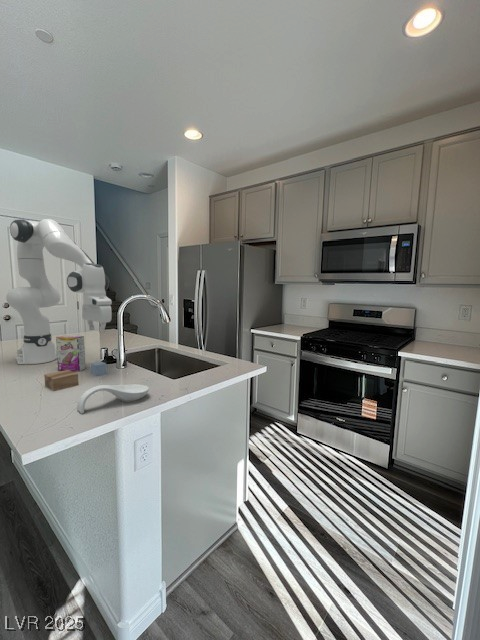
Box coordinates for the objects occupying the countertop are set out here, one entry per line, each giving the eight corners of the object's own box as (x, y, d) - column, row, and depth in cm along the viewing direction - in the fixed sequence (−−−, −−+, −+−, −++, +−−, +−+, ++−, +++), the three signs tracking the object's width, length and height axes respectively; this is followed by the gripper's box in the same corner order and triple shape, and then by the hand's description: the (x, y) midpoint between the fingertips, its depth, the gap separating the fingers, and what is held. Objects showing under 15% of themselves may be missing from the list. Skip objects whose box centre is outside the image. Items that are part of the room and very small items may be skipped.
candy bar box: (57, 370, 139) (55, 336, 137) (64, 367, 144) (62, 334, 142) (79, 371, 138) (77, 337, 136) (86, 368, 143) (84, 335, 141)
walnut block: (45, 386, 119) (44, 374, 118) (69, 381, 126) (68, 369, 125) (54, 391, 113) (53, 379, 113) (78, 385, 120) (77, 373, 120)
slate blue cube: (90, 374, 135) (90, 363, 134) (101, 371, 139) (101, 361, 138) (95, 376, 132) (95, 365, 131) (106, 373, 136) (106, 363, 135)
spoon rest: (139, 390, 116) (139, 372, 115) (155, 398, 107) (154, 379, 107) (73, 408, 99) (72, 387, 98) (85, 419, 91) (84, 396, 90)
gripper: (77, 299, 135) (79, 329, 137) (99, 301, 122) (101, 334, 124) (91, 299, 140) (92, 328, 142) (113, 300, 127) (115, 332, 129)
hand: (96, 330), depth 133 cm, fingers open, 8 cm apart
